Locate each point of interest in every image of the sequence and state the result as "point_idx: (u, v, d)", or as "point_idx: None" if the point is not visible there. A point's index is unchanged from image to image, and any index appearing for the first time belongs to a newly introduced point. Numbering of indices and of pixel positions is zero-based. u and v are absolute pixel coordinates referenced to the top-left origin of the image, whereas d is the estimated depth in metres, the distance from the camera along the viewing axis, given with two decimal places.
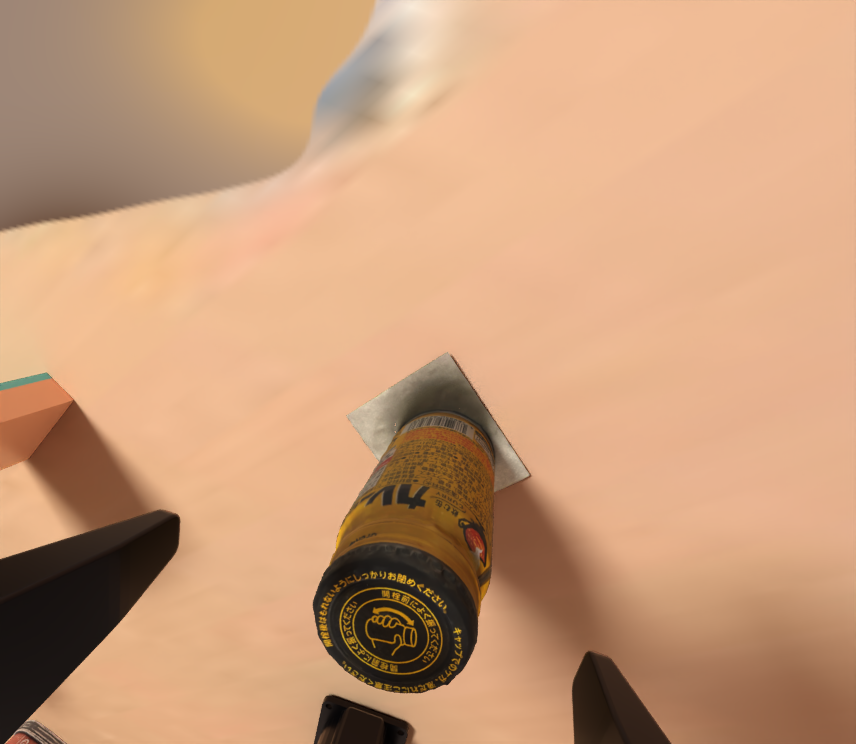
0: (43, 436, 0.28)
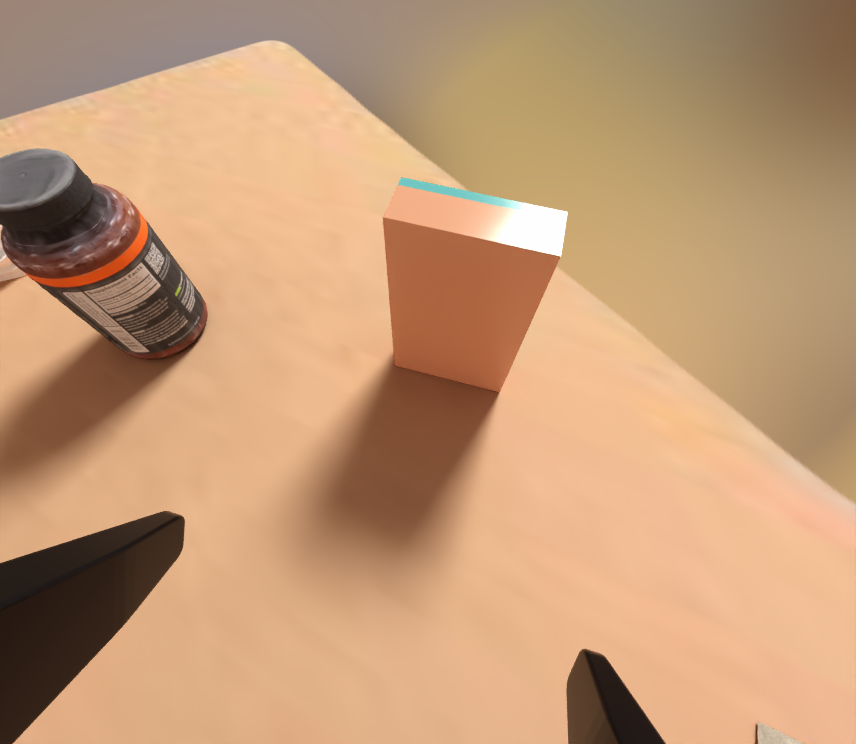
0: (438, 374, 0.26)
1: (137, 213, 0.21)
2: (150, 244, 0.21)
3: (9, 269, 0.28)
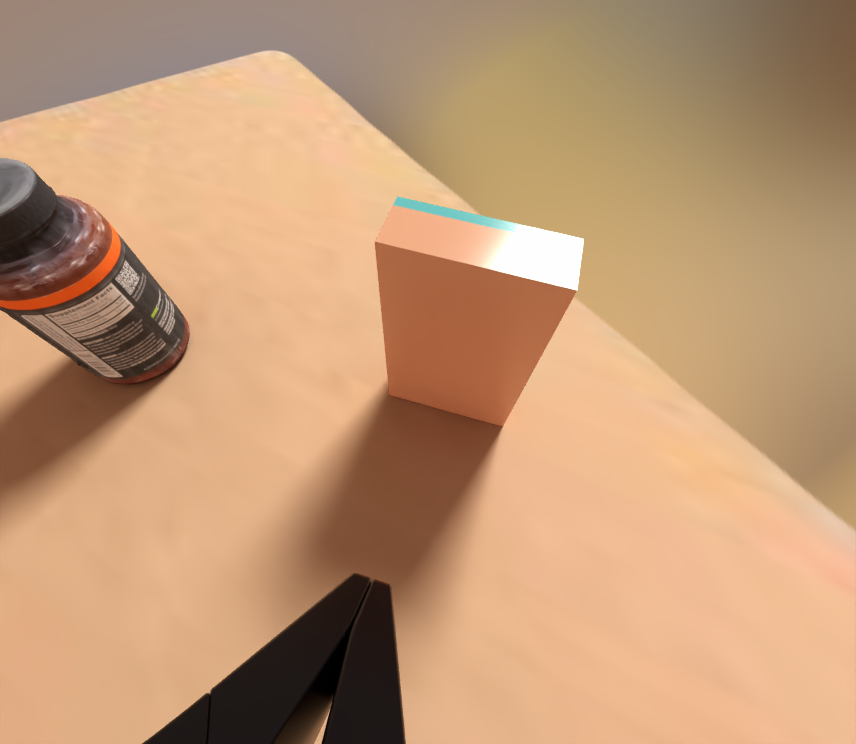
0: (436, 406, 0.24)
1: (108, 229, 0.19)
2: (122, 263, 0.19)
3: None
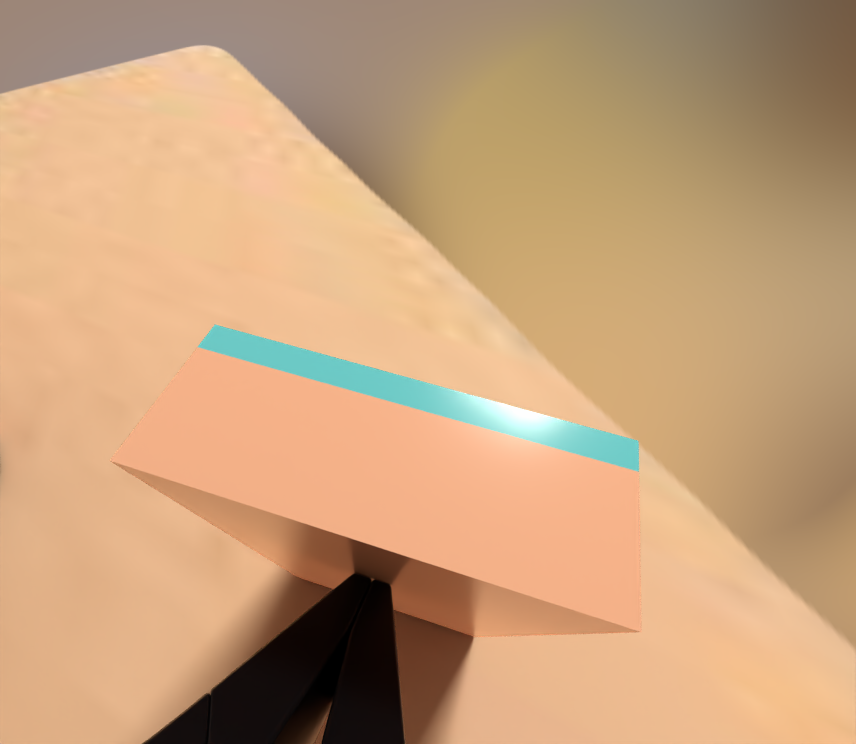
0: None
1: None
2: None
3: None
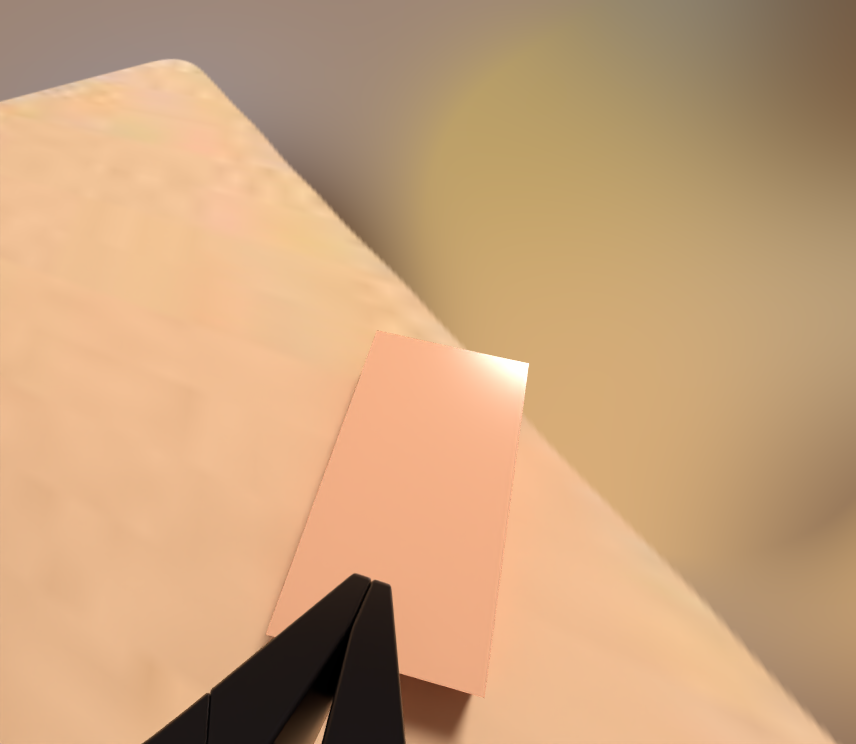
0: None
1: None
2: None
3: None
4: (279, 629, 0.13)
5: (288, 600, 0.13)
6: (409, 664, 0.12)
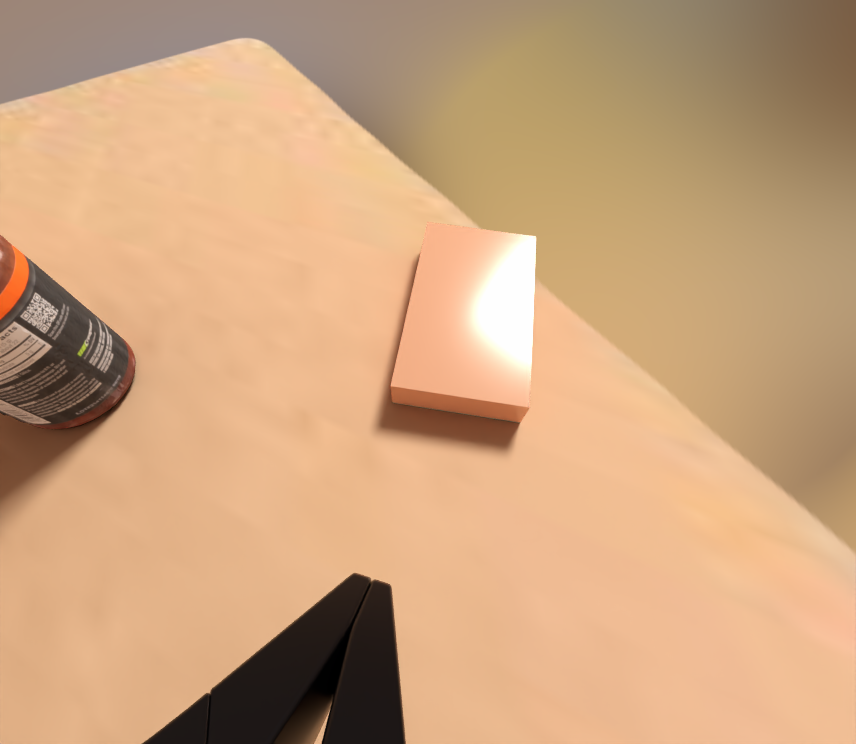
0: (449, 390, 0.20)
1: (10, 256, 0.15)
2: (30, 296, 0.16)
3: None
4: (398, 382, 0.20)
5: (400, 369, 0.21)
6: (482, 395, 0.20)
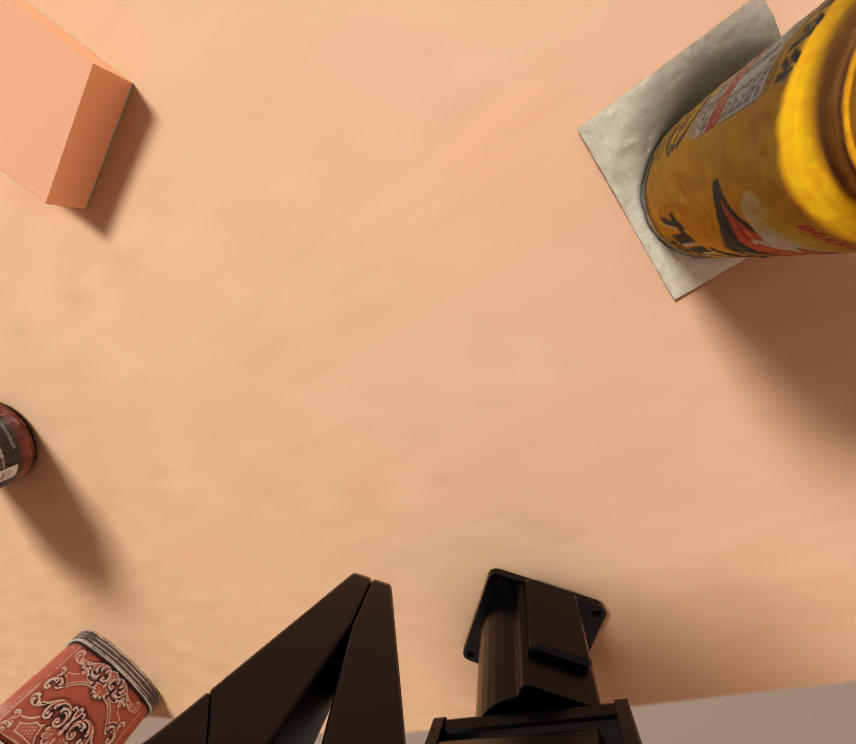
0: (60, 144, 0.19)
1: None
2: None
3: None
4: (43, 193, 0.20)
5: (30, 184, 0.20)
6: (70, 111, 0.18)
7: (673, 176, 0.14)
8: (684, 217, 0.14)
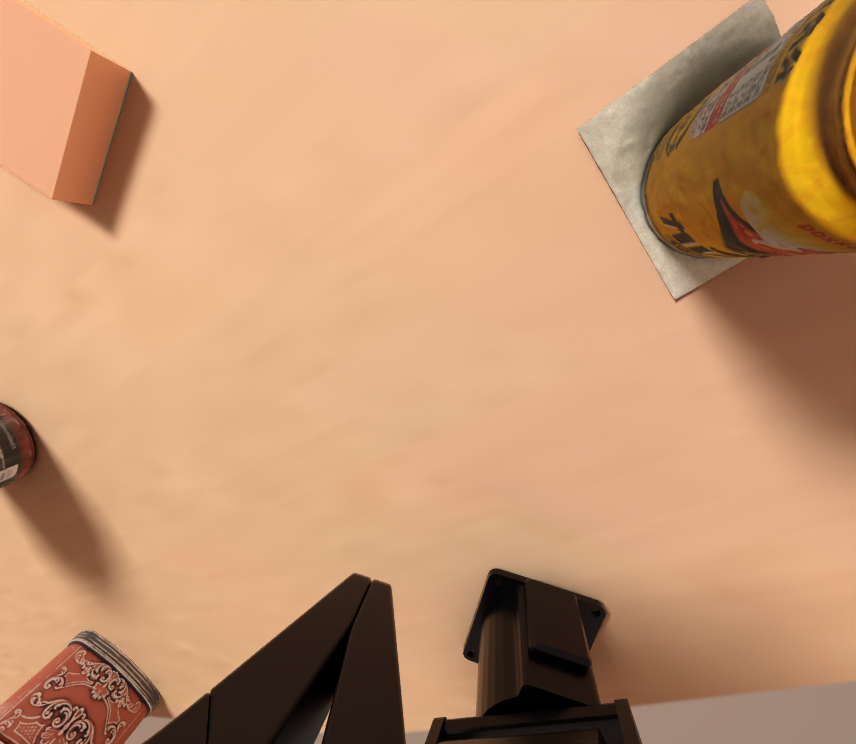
0: (62, 137, 0.19)
1: None
2: None
3: None
4: (49, 189, 0.19)
5: (35, 181, 0.19)
6: (71, 101, 0.18)
7: (672, 176, 0.14)
8: (684, 217, 0.14)
